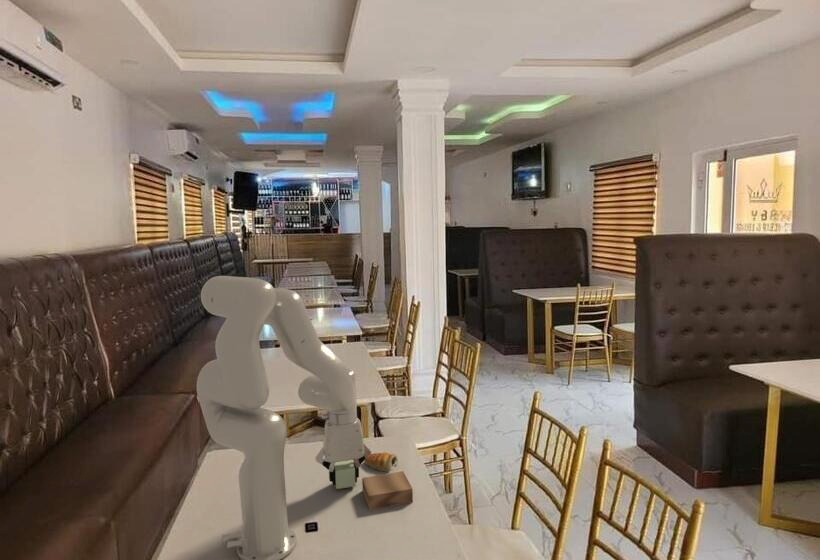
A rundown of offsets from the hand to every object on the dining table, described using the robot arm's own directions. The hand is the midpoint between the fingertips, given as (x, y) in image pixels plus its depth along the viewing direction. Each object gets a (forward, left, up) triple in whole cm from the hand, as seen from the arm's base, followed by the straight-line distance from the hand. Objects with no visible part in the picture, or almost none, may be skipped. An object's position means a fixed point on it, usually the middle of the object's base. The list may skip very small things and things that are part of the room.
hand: (344, 481), depth 143 cm
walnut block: (+10, -8, -2) cm, 13 cm away
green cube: (0, 0, -1) cm, 1 cm away
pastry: (+12, +7, -2) cm, 14 cm away
